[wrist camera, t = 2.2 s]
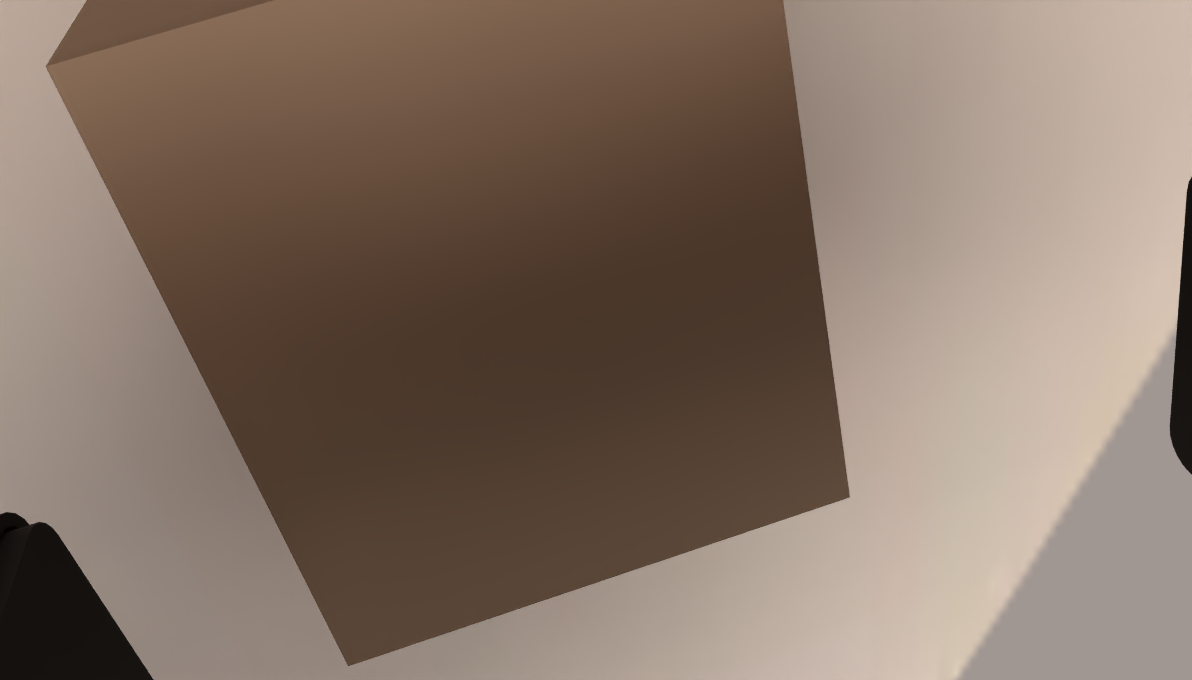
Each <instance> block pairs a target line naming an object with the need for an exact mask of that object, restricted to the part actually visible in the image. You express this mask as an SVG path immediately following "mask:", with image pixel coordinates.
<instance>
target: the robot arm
mask: <svg viewBox="0 0 1192 680" xmlns="http://www.w3.org/2000/svg"><path fill="white" fill-rule="evenodd" d="M1170 436H1171V440H1172V444H1173V447H1174V449H1175V452H1176V454H1177V456H1178V458H1179V459H1180V461H1181V463H1182V464H1183V465H1184V467H1185V468H1186V469H1187V470H1188V471H1189V472H1190V473H1191V474H1192V177H1191V179H1190V181H1189V184H1188V189H1187V198H1186V212H1185V226H1184V239H1183V253H1182V267H1181V280H1180V294H1179V308H1178V321H1177V335H1176V349H1175V363H1174V376H1173V390H1172V404H1171V417H1170ZM0 680H153V678H152V677H151V675H150V674H149V672H148V671H147V669H146V668H145V666H144V665H143V663H142V662H141V660H140V659H139V657H138V656H137V654H136V653H135V651H134V650H133V648H132V646H131V645H130V643H129V642H128V640H127V639H126V637H125V636H124V634H123V633H122V631H121V630H120V628H119V627H118V625H117V624H116V622H115V621H114V619H113V618H112V616H111V615H110V613H109V611H108V610H107V608H106V607H105V605H104V604H103V602H102V601H101V599H100V598H99V596H98V595H97V593H96V592H95V590H94V589H93V587H92V586H91V584H90V583H89V581H88V580H87V578H86V576H85V575H84V573H83V572H82V570H81V569H80V567H79V566H78V564H77V563H76V561H75V560H74V558H73V557H72V555H71V554H70V552H69V551H68V549H67V548H66V546H65V545H64V543H63V541H62V540H61V538H60V537H59V535H58V534H57V533H56V532H55V531H54V529H53V528H52V527H51V526H49V525H48V524H46V523H41V522H38V523H35V524H31V525H29V524H28V523H27V521H26V520H25V519H23V518H22V517H20V516H19V515H17V514H16V513H9V512H6V513H3V514H0Z"/></svg>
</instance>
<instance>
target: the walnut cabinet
mask: <svg viewBox="0 0 1192 680" xmlns="http://www.w3.org/2000/svg"><path fill="white" fill-rule="evenodd" d="M46 68H47V70H48V72H49V74H50V76H51V78H52V80H53V82H54V84H55V86H56V88H57V90H58V92H59V94H60V96H61V98H62V100H63V102H64V104H65V106H66V107H67V109H68V111H69V113H70V115H71V117H72V119H73V121H74V123H75V125H76V127H77V129H78V131H79V133H80V135H81V137H82V139H83V141H84V143H85V145H86V147H87V149H88V151H89V153H90V155H91V157H92V159H93V161H94V163H95V165H96V167H97V169H98V171H99V173H100V175H101V177H102V179H103V181H104V183H105V185H106V187H107V189H108V191H109V193H110V195H111V197H112V199H113V201H114V203H115V205H116V207H117V209H118V211H119V213H120V215H121V217H122V219H123V220H124V222H125V224H126V226H127V228H128V230H129V232H130V234H131V236H132V238H133V240H134V242H135V244H136V246H137V248H138V250H139V252H140V254H141V256H142V258H143V260H144V262H145V264H146V266H147V268H148V270H149V272H150V274H151V276H152V278H153V280H154V282H155V284H156V286H157V288H158V290H159V292H160V294H161V296H162V298H163V300H164V302H165V304H166V306H167V308H168V310H169V312H170V314H171V316H172V318H173V320H174V322H175V324H176V326H177V328H178V330H179V332H180V333H181V335H182V337H183V339H184V341H185V343H186V345H187V347H188V349H189V351H190V353H191V355H192V357H193V359H194V361H195V363H196V365H197V367H198V369H199V371H200V373H201V375H202V377H203V379H204V381H205V383H206V385H207V387H208V389H209V391H210V393H211V395H212V397H213V399H214V401H215V403H216V405H217V407H218V409H219V411H220V413H221V415H222V417H223V419H224V421H225V423H226V425H227V427H228V429H229V431H230V433H231V435H232V437H233V439H234V441H235V443H236V445H237V446H238V448H239V450H240V452H241V454H242V456H243V458H244V460H245V462H246V464H247V466H248V468H249V470H250V472H251V474H252V476H253V478H254V480H255V482H256V484H257V486H258V488H259V490H260V492H261V494H262V496H263V498H264V500H265V502H266V504H267V506H268V508H269V510H270V512H271V514H272V516H273V518H274V520H275V522H276V524H277V526H278V528H279V530H280V532H281V534H282V536H283V538H284V540H285V542H286V544H287V546H288V548H289V550H290V552H291V554H292V556H293V558H294V559H295V561H296V563H297V565H298V567H299V569H300V571H301V573H302V575H303V577H304V579H305V581H306V583H307V585H308V587H309V589H310V591H311V593H312V595H313V597H314V599H315V601H316V603H317V605H318V607H319V609H320V611H321V613H322V615H323V617H324V619H325V621H326V623H327V625H328V627H329V629H330V631H331V633H332V635H333V637H334V639H335V641H336V643H337V645H338V647H339V649H340V651H341V653H342V655H343V657H344V659H345V661H346V663H347V665H348V666H350V665H353V664H356V663H359V662H362V661H365V660H368V659H371V658H374V657H377V656H380V655H383V654H386V653H389V652H392V651H395V650H398V649H401V648H404V647H407V646H410V645H412V644H415V643H418V642H421V641H424V640H427V639H430V638H433V637H436V636H439V635H442V634H445V633H448V632H451V631H454V630H457V629H460V628H463V627H466V626H469V625H472V624H475V623H478V622H481V621H484V620H487V619H490V618H493V617H496V616H499V615H502V614H505V613H507V612H510V611H513V610H516V609H519V608H522V607H525V606H528V605H531V604H534V603H537V602H540V601H543V600H546V599H549V598H552V597H555V596H558V595H561V594H564V593H567V592H570V591H573V590H576V589H579V588H582V587H585V586H588V585H591V584H594V583H597V582H600V581H602V580H605V579H608V578H611V577H614V576H617V575H620V574H623V573H626V572H629V571H632V570H635V569H638V568H641V567H644V566H647V565H650V564H653V563H656V562H659V561H662V560H665V559H668V558H671V557H674V556H677V555H680V554H683V553H686V552H689V551H692V550H695V549H697V548H700V547H703V546H706V545H709V544H712V543H715V542H718V541H721V540H724V539H727V538H730V537H733V536H736V535H739V534H742V533H745V532H748V531H751V530H754V529H757V528H760V527H763V526H766V525H769V524H772V523H775V522H778V521H781V520H784V519H787V518H789V517H792V516H795V515H798V514H801V513H804V512H807V511H810V510H813V509H816V508H819V507H822V506H825V505H828V504H831V503H834V502H837V501H840V500H843V499H846V498H849V497H850V496H849V488H848V481H847V473H846V466H845V458H844V451H843V444H842V436H841V429H840V421H839V414H838V406H837V399H836V392H835V384H834V377H833V369H832V362H831V354H830V347H829V340H828V332H827V325H826V317H825V310H824V302H823V295H822V288H821V280H820V273H819V265H818V258H817V250H816V243H815V235H814V228H813V221H812V213H811V206H810V198H809V191H808V183H807V176H806V169H805V161H804V154H803V146H802V139H801V131H800V124H799V117H798V109H797V102H796V94H795V87H794V79H793V72H792V65H791V57H790V50H789V42H788V35H787V27H786V20H785V13H784V5H783V0H87V1H86V3H85V4H84V6H83V8H82V9H81V11H80V12H79V14H78V16H77V17H76V19H75V20H74V22H73V24H72V25H71V27H70V28H69V30H68V32H67V33H66V35H65V36H64V38H63V40H62V41H61V43H60V44H59V46H58V48H57V49H56V51H55V53H54V54H53V56H52V57H51V59H50V61H49V62H48V64H47V65H46Z"/></svg>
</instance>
